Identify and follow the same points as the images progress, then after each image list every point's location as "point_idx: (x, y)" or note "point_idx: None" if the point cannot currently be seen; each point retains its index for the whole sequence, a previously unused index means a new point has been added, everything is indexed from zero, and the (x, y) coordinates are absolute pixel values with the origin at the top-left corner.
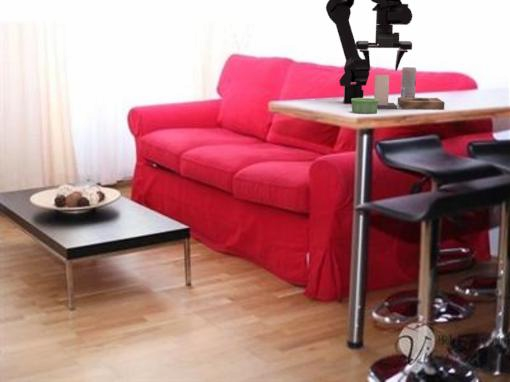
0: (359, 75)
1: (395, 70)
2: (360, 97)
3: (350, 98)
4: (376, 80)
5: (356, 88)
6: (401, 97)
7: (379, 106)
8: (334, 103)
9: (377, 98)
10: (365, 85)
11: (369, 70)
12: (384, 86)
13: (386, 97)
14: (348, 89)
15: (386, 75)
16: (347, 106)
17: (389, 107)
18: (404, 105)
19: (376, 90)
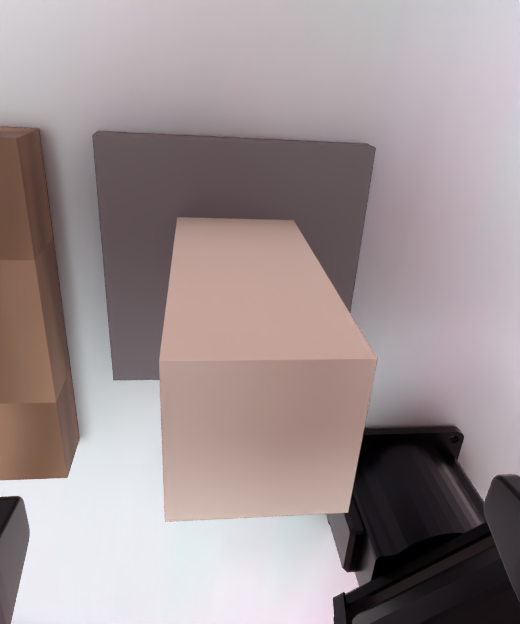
0: (474, 603)
1: (24, 513)
2: (358, 481)
3: (431, 458)
4: (352, 322)
5: (422, 522)
6: (36, 477)
7: (266, 141)
8: (515, 434)
9: (284, 238)
10: (336, 596)
11: (504, 475)
12: (226, 285)
13: (194, 238)
14: (477, 518)
15: (197, 439)
16: (486, 284)
17: (170, 136)
18: (13, 132)
19: (315, 268)
